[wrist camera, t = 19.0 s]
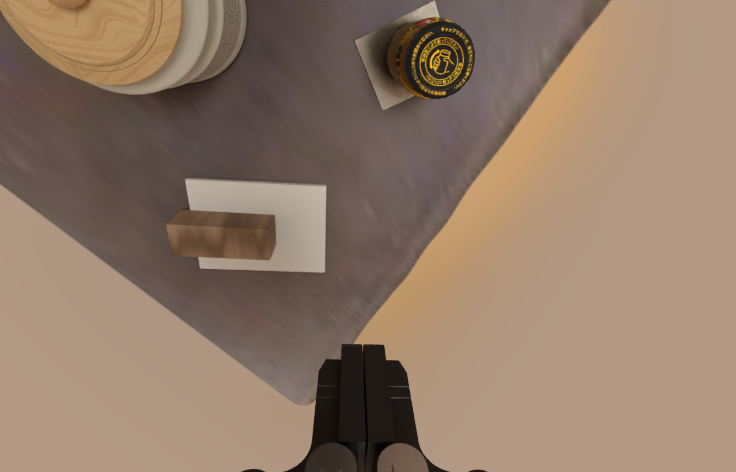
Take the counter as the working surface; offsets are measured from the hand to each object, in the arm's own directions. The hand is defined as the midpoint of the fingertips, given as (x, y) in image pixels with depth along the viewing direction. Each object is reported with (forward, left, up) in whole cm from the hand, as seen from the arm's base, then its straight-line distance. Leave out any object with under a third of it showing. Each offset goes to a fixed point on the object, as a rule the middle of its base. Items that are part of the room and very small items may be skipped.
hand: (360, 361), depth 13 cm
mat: (+11, -11, -32) cm, 36 cm away
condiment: (-9, +5, -32) cm, 34 cm away
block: (+11, -9, -29) cm, 33 cm away
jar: (-12, -17, -32) cm, 38 cm away
